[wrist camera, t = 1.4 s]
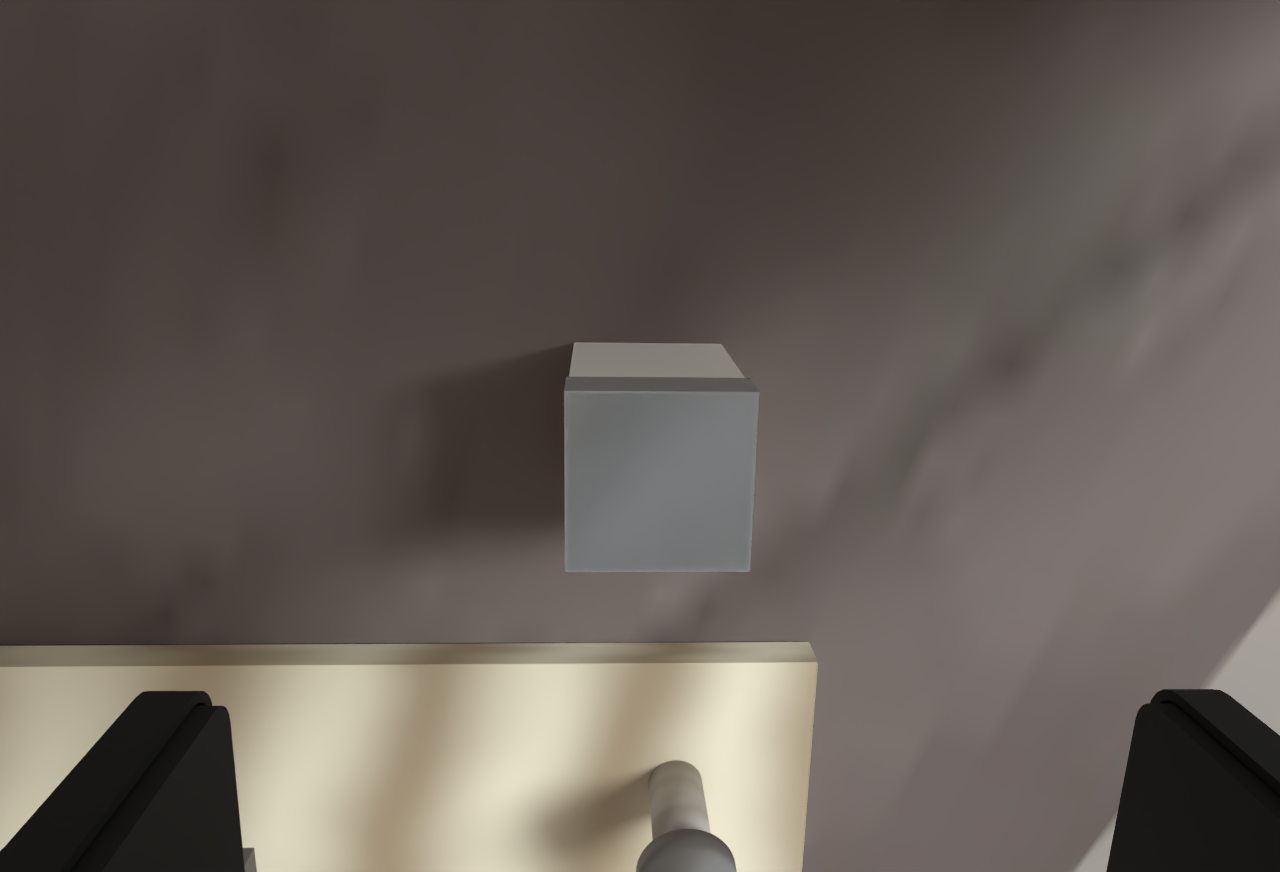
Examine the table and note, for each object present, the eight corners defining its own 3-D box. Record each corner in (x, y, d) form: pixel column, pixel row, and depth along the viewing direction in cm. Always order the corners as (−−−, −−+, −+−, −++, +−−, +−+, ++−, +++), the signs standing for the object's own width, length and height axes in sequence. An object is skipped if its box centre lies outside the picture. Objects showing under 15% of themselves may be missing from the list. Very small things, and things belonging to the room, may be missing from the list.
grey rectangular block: (722, 342, 25) (759, 391, 20) (717, 484, 27) (749, 571, 21) (572, 340, 25) (563, 390, 19) (572, 484, 26) (564, 572, 21)
